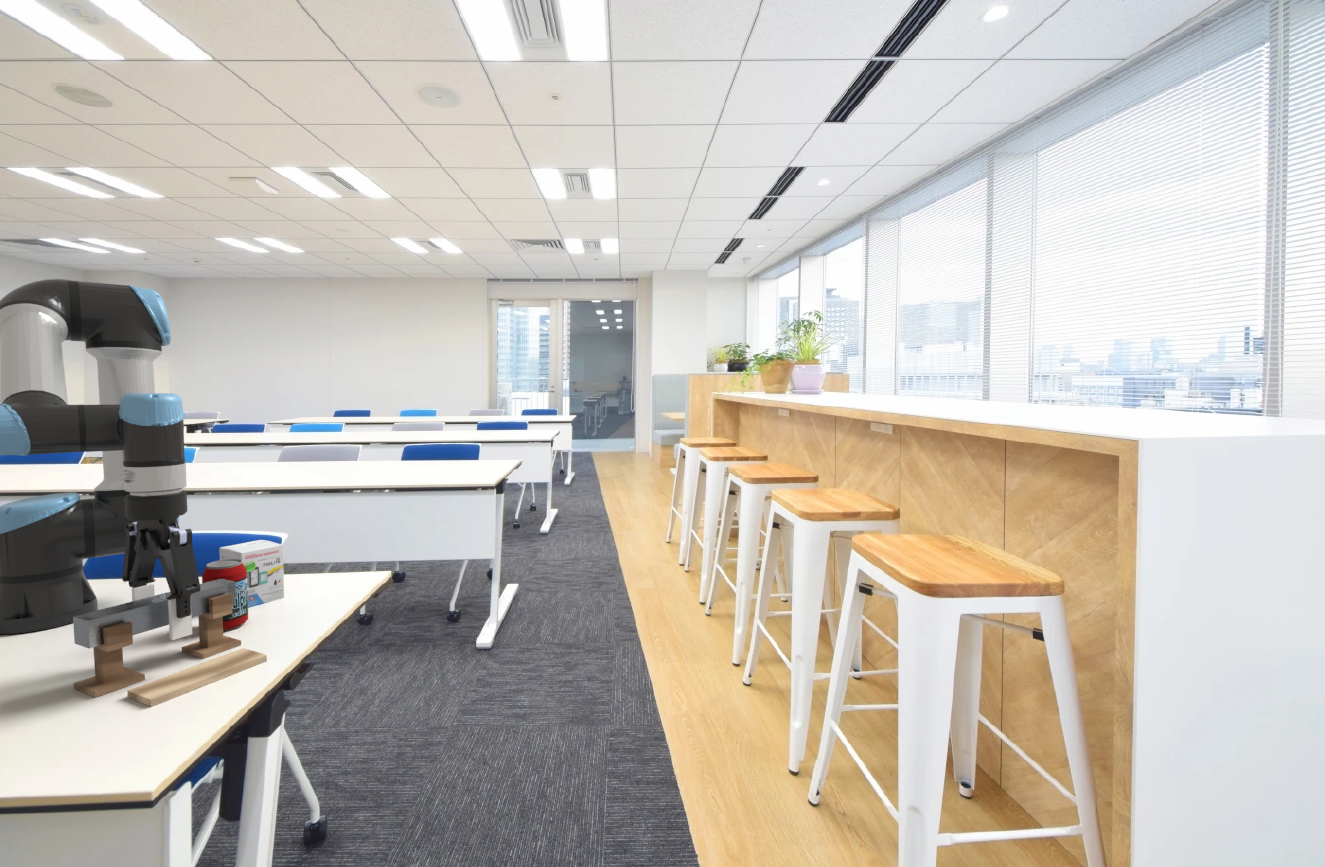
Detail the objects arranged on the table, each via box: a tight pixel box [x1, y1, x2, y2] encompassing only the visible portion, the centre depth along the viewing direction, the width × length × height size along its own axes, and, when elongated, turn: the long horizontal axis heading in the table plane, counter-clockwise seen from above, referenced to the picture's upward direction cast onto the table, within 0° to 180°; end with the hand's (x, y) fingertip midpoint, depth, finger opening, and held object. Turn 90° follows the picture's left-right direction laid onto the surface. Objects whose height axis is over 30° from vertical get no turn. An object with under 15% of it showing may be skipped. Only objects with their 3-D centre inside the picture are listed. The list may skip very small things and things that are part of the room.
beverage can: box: [201, 559, 249, 632], centre depth 113 cm, size 7×7×12 cm
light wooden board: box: [126, 647, 268, 707], centre depth 93 cm, size 6×16×1 cm, turn 156°
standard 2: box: [181, 593, 242, 659], centre depth 103 cm, size 7×6×10 cm
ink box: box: [218, 539, 285, 608], centre depth 127 cm, size 8×8×12 cm
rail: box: [72, 579, 236, 649], centre depth 96 cm, size 4×20×4 cm, turn 156°
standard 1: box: [73, 622, 146, 698], centre depth 90 cm, size 7×6×10 cm
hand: (162, 631), depth 97 cm, fingers open, 9 cm apart
